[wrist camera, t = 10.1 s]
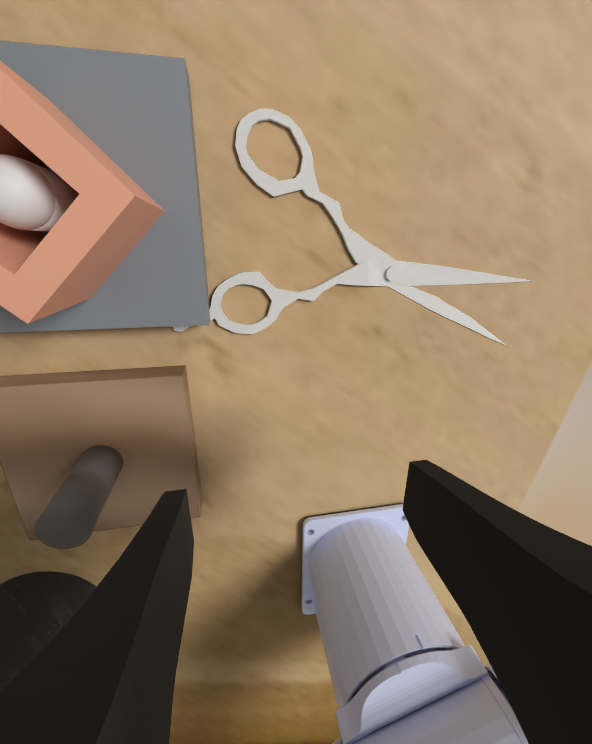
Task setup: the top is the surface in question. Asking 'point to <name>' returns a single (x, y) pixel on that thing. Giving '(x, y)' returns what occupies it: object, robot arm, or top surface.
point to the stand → (96, 449)
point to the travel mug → (35, 615)
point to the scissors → (370, 260)
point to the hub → (138, 160)
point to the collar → (79, 222)
